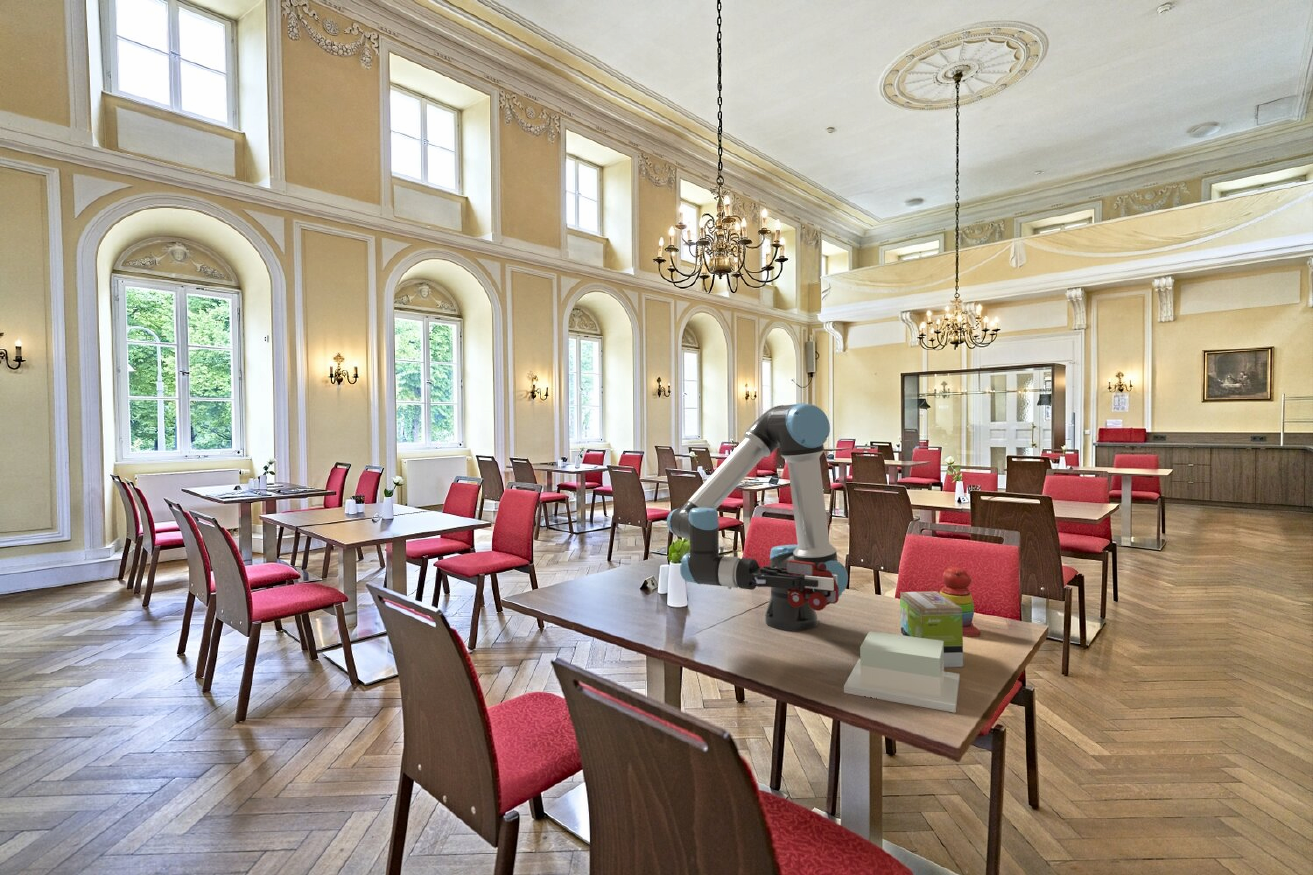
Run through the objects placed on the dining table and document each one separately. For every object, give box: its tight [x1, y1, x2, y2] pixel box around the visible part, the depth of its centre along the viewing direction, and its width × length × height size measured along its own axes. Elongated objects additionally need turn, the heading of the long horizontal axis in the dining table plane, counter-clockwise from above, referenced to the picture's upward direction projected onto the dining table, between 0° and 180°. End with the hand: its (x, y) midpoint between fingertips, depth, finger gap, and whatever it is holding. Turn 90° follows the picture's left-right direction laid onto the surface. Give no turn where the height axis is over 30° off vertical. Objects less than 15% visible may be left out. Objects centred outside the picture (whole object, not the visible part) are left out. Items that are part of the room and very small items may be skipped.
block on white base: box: [843, 630, 960, 714], centre depth 139 cm, size 22×18×10 cm
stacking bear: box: [939, 565, 981, 637], centre depth 176 cm, size 11×10×18 cm
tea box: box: [899, 590, 964, 668], centre depth 156 cm, size 15×10×15 cm
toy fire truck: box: [786, 560, 840, 612], centre depth 147 cm, size 7×12×10 cm, turn 56°
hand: (834, 582), depth 144 cm, fingers closed on toy fire truck, 3 cm apart
